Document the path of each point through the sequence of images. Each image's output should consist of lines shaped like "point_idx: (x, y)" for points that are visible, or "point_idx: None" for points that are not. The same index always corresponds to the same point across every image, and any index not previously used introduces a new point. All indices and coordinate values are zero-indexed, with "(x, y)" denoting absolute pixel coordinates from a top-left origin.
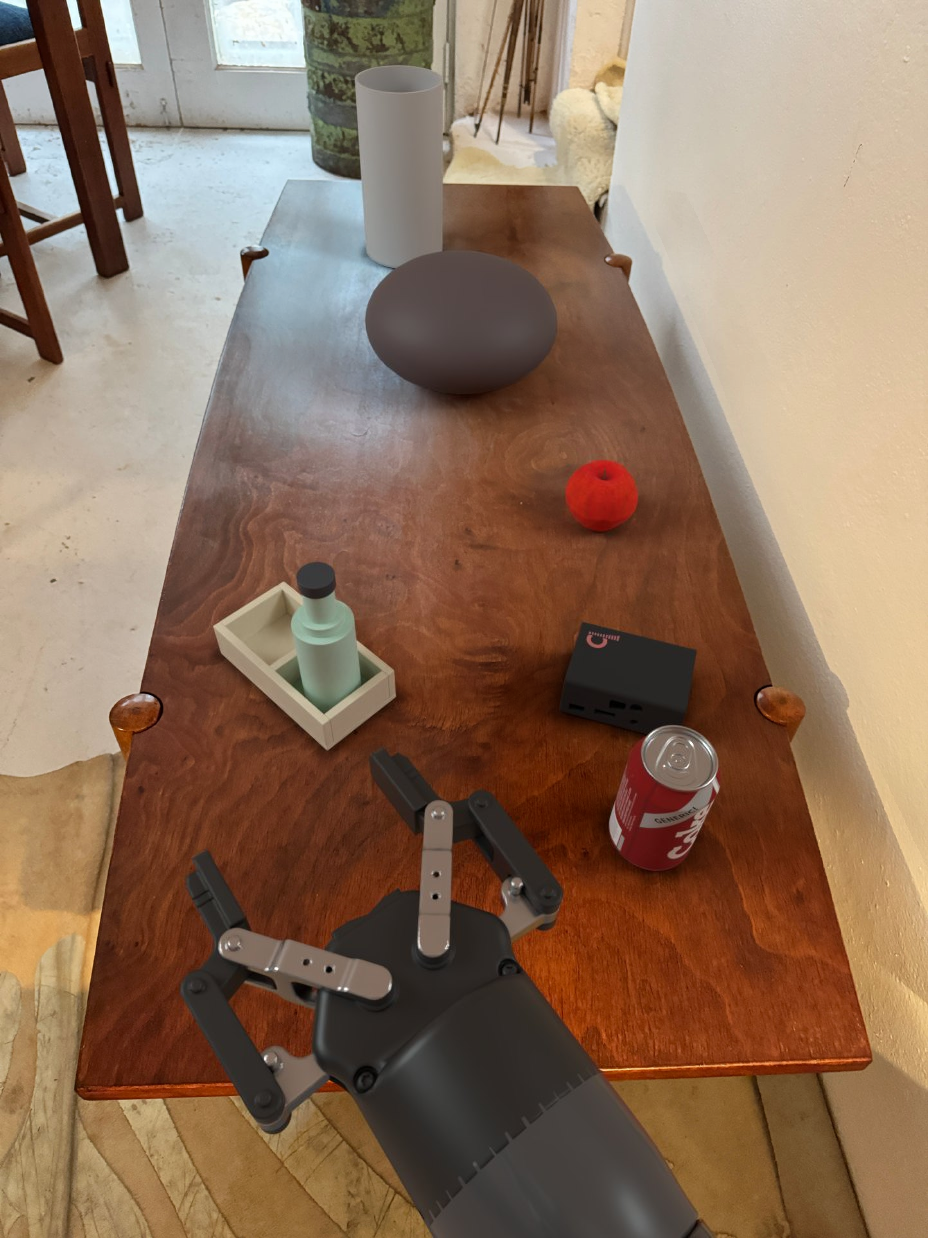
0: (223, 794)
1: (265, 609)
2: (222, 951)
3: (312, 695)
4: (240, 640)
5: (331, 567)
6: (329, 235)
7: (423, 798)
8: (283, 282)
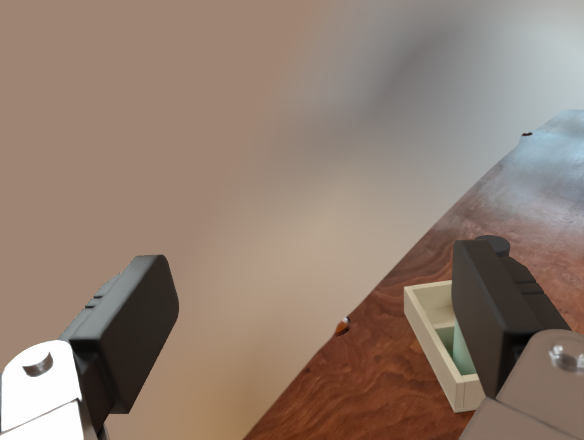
0: (357, 402)
1: (446, 292)
2: (12, 361)
3: (457, 359)
4: (418, 301)
5: (508, 242)
6: (578, 130)
7: (536, 319)
8: (536, 146)
